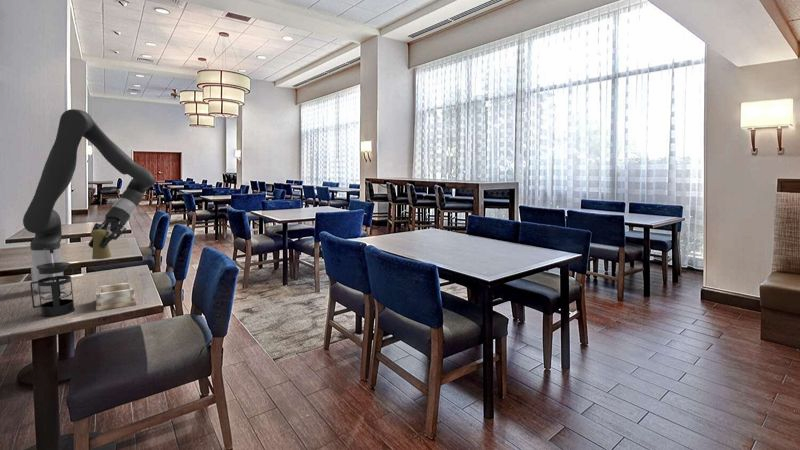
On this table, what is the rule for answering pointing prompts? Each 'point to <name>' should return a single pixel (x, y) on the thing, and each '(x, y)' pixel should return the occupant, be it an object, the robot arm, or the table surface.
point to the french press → (54, 289)
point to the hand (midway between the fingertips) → (95, 246)
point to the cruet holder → (115, 296)
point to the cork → (97, 251)
